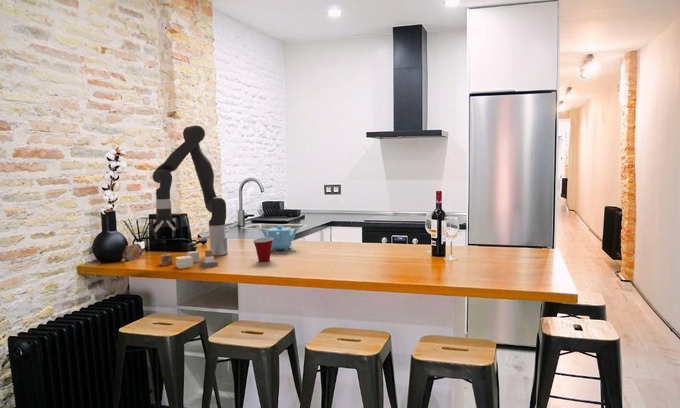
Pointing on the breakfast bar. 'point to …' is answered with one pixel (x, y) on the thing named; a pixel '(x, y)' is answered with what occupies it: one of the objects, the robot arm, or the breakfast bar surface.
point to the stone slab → (132, 252)
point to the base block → (184, 262)
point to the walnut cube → (166, 259)
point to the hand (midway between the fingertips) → (165, 238)
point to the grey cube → (194, 255)
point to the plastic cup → (263, 248)
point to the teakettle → (280, 237)
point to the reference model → (209, 259)
